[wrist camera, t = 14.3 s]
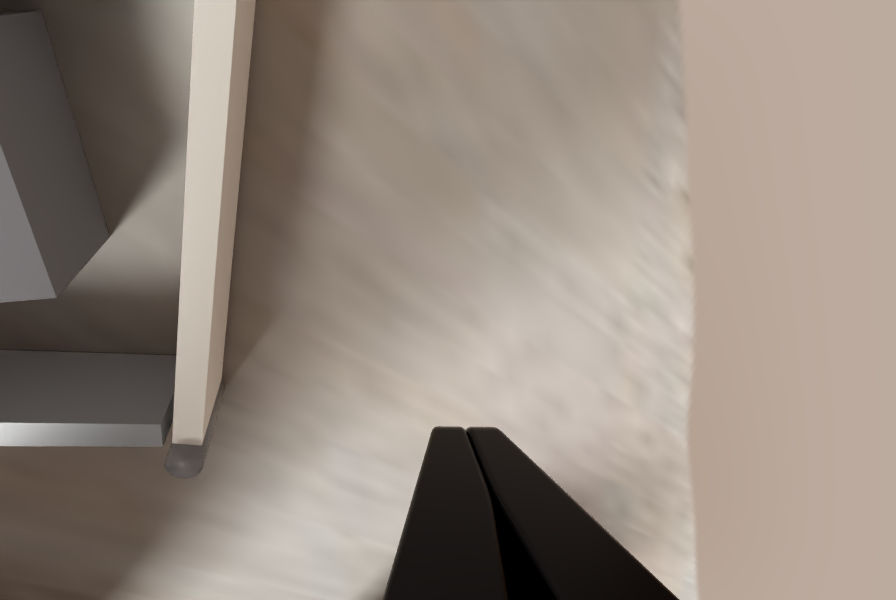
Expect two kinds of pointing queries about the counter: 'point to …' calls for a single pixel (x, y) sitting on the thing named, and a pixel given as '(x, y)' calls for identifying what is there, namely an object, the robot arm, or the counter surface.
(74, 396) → the grey angular u-shape
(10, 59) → the tilted gray brick
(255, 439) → the counter surface
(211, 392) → the cover
